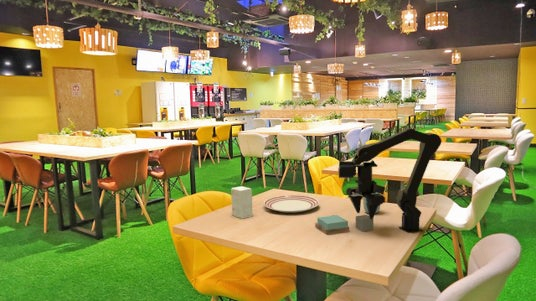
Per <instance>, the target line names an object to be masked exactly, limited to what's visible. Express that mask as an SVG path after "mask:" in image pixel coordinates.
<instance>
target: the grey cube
mask: <svg viewBox="0 0 536 301" xmlns="http://www.w3.org/2000/svg"><path fill="white" fill-rule="evenodd" d="M355 229H356V230H359V231H361V232H362V233H364V232H370V231H374V218H373V219H370V217H369V214H362V215H356V216H355Z"/></svg>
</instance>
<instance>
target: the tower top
mask: <svg viewBox="0 0 536 301" xmlns="http://www.w3.org/2000/svg"><path fill="white" fill-rule="evenodd" d="M316 220H317V222H316V223H318V224H319V225H321V226H322V227H324V228H325V229H327V230H332V229H339V228H346V227H349V221H348V220H347V219H345V218H344V217H341V216H340V215H338V214H335V215H328V216H319V217H318V216H317V219H316Z"/></svg>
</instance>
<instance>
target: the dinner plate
mask: <svg viewBox="0 0 536 301" xmlns="http://www.w3.org/2000/svg"><path fill="white" fill-rule="evenodd" d="M319 205H320V200H318V199H317V198H315V197H313V196H309V195H301V194H285V195H277V196H273V197H272V196H271V197H270V198H267V199H265V200H264V201H263V206H264V207H265V208H268V209H270V210H272V211H276V212H279V213H283V214H284V213H286V214H289V213H290V214H292V213H293V214H294V213H296V214H297V213H303V212H306V211H310V210H312V209H314V208H316V207H318V206H319Z"/></svg>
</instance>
